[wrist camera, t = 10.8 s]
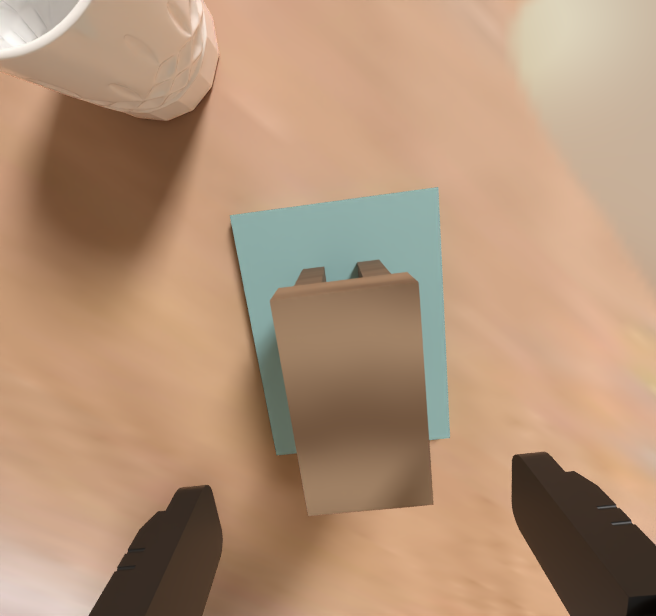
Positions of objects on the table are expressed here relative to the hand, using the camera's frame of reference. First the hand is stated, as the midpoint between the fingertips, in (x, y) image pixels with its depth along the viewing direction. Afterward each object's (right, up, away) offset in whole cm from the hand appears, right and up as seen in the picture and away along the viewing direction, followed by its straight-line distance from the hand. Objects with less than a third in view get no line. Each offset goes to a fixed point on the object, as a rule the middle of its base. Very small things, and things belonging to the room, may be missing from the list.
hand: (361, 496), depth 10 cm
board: (0, +4, +12) cm, 13 cm away
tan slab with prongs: (0, +3, +11) cm, 12 cm away
